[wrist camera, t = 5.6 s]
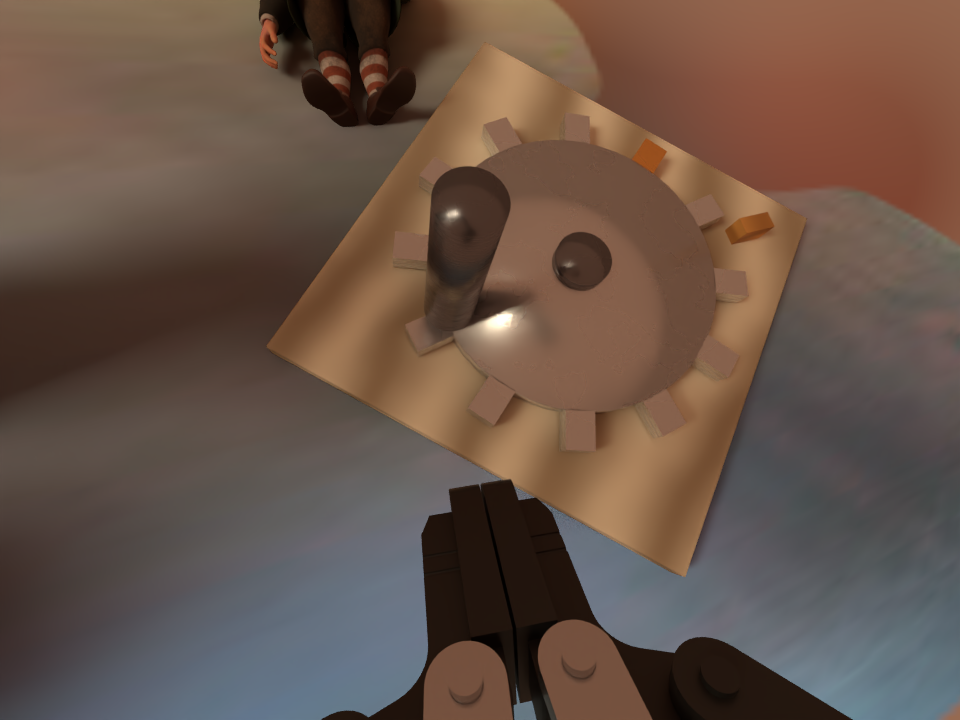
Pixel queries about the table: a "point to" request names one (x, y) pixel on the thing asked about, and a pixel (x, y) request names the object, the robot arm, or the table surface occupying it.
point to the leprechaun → (342, 53)
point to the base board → (521, 427)
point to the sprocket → (569, 279)
